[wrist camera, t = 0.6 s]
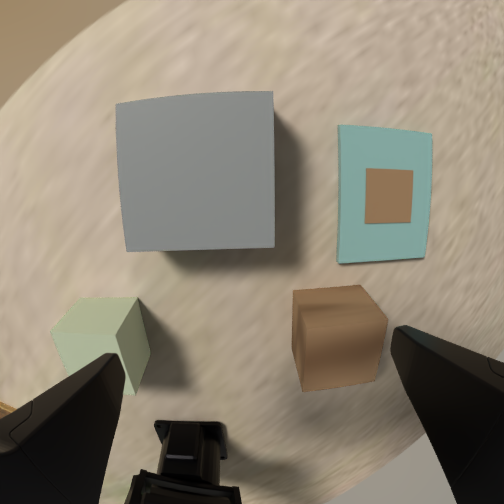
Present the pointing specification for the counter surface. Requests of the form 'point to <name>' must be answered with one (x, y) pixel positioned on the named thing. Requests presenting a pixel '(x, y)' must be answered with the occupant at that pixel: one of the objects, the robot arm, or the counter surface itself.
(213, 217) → the slate block
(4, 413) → the shard
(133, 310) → the sage cube
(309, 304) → the walnut cube
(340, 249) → the card
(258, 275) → the counter surface
